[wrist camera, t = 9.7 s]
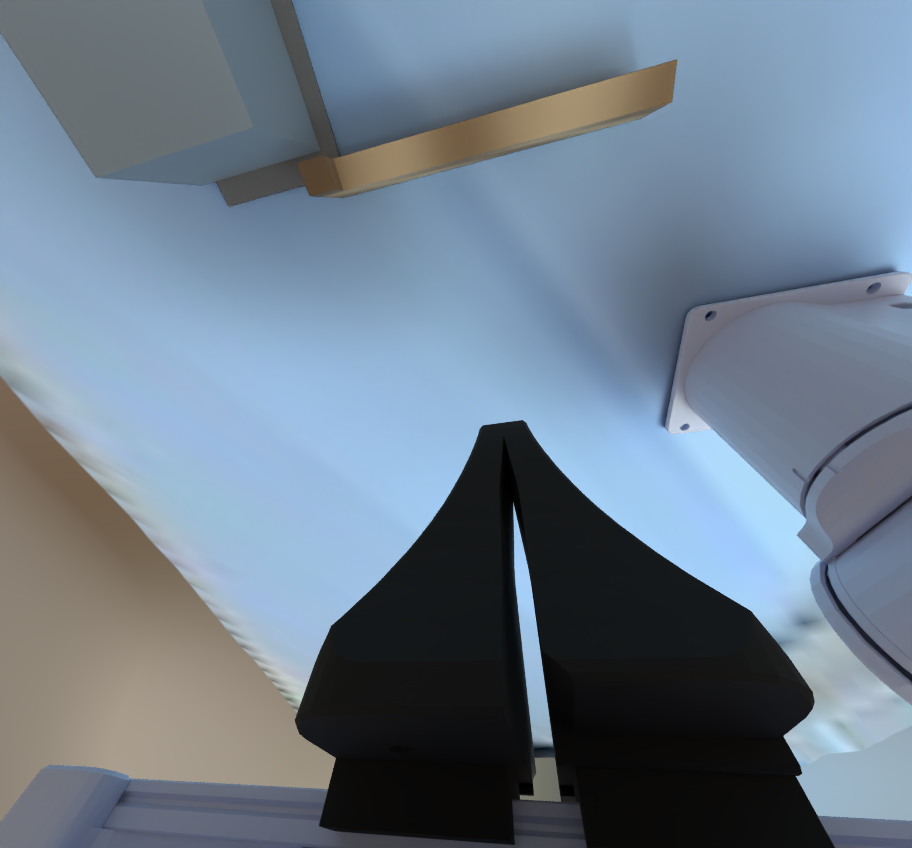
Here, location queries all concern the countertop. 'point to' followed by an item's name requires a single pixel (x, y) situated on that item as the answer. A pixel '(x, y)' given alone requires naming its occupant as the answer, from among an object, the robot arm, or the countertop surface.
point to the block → (164, 84)
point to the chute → (494, 134)
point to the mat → (288, 171)
